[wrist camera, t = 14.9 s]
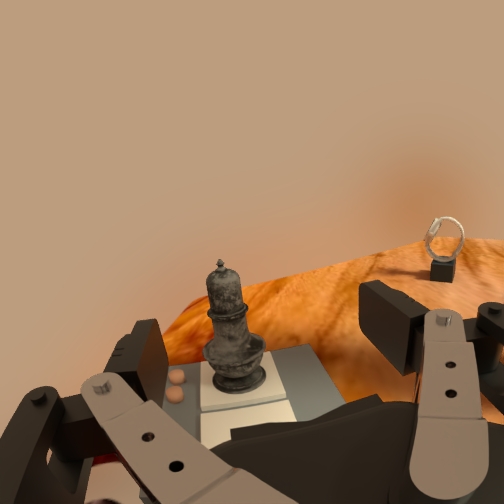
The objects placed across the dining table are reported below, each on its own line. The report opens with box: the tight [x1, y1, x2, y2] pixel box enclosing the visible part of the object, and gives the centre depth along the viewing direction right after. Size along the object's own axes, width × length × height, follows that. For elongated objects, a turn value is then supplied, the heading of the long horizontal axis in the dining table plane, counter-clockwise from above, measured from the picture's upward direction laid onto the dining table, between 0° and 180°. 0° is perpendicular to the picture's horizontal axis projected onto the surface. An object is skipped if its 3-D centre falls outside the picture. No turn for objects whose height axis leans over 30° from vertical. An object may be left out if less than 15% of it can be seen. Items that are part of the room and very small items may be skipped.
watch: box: [424, 217, 465, 283], centre depth 48 cm, size 6×8×11 cm
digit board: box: [139, 344, 346, 504], centre depth 25 cm, size 17×18×2 cm
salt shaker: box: [202, 259, 266, 394], centre depth 27 cm, size 6×6×12 cm
